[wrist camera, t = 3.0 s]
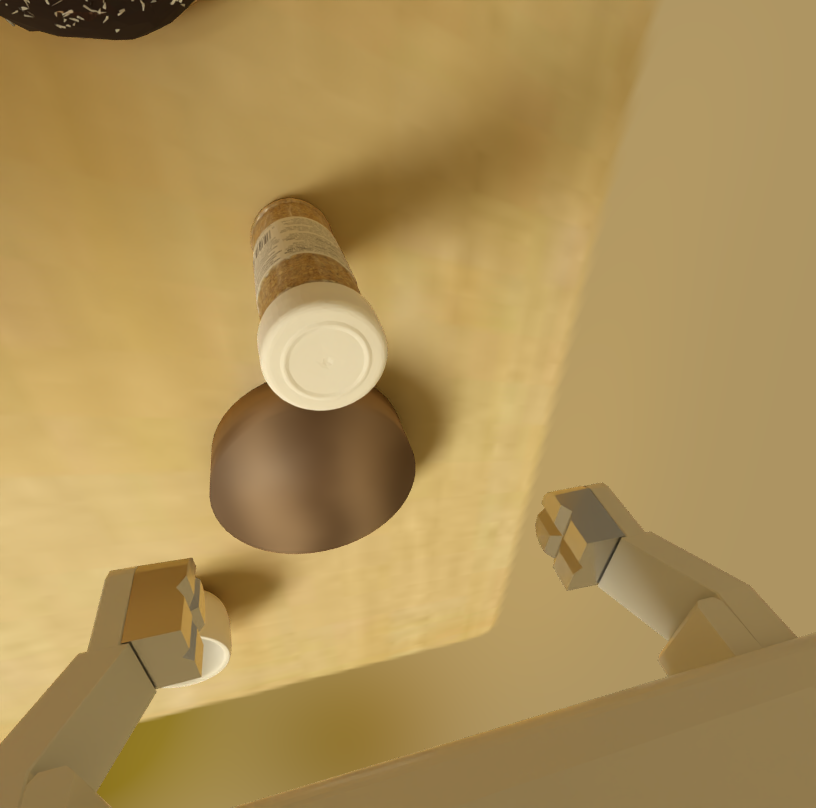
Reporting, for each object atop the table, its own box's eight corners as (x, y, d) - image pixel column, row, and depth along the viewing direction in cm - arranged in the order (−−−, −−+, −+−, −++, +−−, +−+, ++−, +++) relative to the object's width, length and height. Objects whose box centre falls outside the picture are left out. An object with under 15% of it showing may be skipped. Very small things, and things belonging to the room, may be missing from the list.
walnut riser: (229, 527, 39) (229, 569, 36) (192, 384, 31) (187, 423, 28) (397, 497, 43) (410, 533, 40) (405, 361, 34) (421, 394, 31)
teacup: (119, 592, 40) (107, 656, 36) (214, 565, 42) (212, 624, 38) (167, 648, 47) (161, 708, 43) (248, 623, 48) (250, 679, 44)
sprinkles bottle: (301, 291, 29) (338, 432, 19) (232, 245, 27) (232, 381, 16) (349, 229, 28) (416, 347, 18) (280, 175, 25) (313, 276, 15)
